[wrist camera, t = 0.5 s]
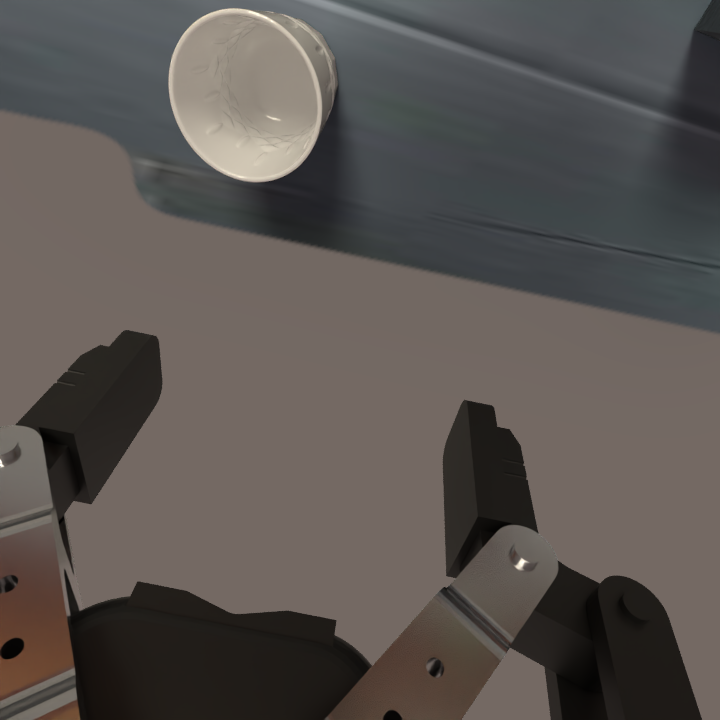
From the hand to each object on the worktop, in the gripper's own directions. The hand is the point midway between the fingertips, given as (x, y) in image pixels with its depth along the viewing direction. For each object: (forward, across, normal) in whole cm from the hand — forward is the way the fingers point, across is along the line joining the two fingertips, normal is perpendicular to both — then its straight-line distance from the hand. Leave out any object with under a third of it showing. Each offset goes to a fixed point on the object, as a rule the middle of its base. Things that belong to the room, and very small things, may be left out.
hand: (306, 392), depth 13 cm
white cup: (+28, +7, -3) cm, 29 cm away
